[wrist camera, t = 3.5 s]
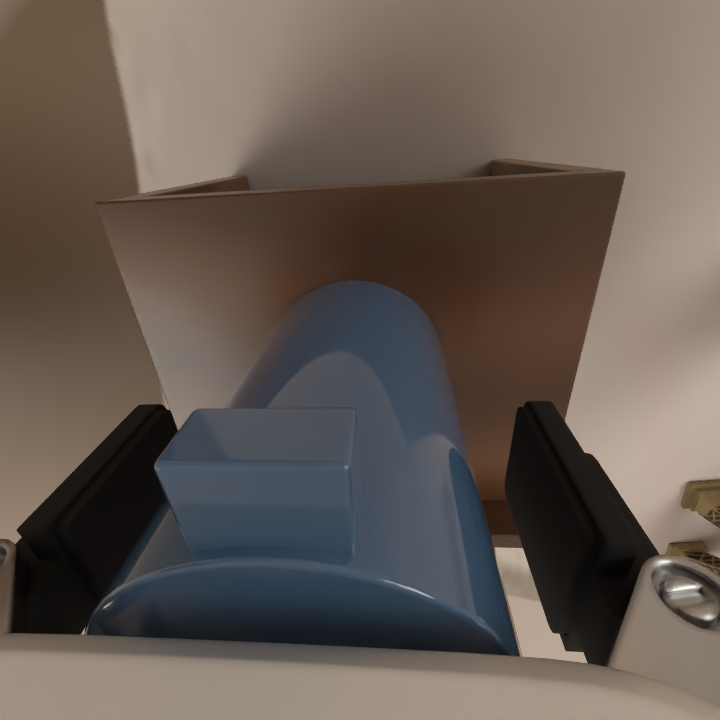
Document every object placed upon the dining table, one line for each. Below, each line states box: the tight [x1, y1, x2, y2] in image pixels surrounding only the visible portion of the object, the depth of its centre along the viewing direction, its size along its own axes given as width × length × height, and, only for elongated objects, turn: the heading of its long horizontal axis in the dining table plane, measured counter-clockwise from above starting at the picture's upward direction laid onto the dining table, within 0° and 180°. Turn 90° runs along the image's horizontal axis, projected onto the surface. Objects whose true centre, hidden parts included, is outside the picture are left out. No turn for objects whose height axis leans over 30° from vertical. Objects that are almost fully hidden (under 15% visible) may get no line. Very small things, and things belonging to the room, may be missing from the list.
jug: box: [84, 280, 522, 657], centre depth 10 cm, size 10×6×10 cm, turn 3°
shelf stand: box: [95, 159, 625, 548], centre depth 19 cm, size 14×16×14 cm
